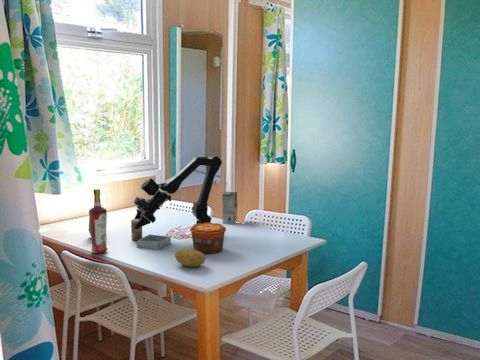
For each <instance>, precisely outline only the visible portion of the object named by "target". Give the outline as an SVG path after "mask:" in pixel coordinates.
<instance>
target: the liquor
mask: <svg viewBox="0 0 480 360" xmlns="http://www.w3.org/2000/svg"><path fill="white" fill-rule="evenodd" d="M93 196H94V199H93V207H91V208H90V209H89V210H88V214H89V218H90V228H91V235H90V237H91V252H92V253H94V255H103V254H105V253H106V252H107V251H108V247H107V225H108V224H107V223H108V222H107V218H108V217H107V216H108V215H107V214H108V213H107V208H105V207H103V206H102V203H101V189H100V188H95V189H94V188H93ZM89 218H88V219H89Z"/></svg>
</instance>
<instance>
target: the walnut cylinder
mask: <svg viewBox="0 0 480 360" xmlns="http://www.w3.org/2000/svg"><path fill="white" fill-rule="evenodd" d="M139 220H140V219H134V218H133V219H131V220H130V222H131V223H130V224H131V225H130V227H131V241H133V242H137V241H138V240H140V239H142V238H143V226H142V227H140V228H138V229H135V226H136V224H137V223H138V222H139Z"/></svg>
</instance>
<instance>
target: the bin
mask: <svg viewBox="0 0 480 360" xmlns="http://www.w3.org/2000/svg"><path fill="white" fill-rule="evenodd" d="M171 237H172V236H168V235H159V234H158V235H157V234H148V235H146V236H144V237H143V236H142V239H140V240H138V241H136V244H137V245H136V246H137V247H136V248H142V249H150V250H156V251H157V250H158V251H160V250H162V249H163V248H165V247H166V246H168V245H169V244H171V243H172V238H171Z"/></svg>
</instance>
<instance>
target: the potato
mask: <svg viewBox="0 0 480 360" xmlns="http://www.w3.org/2000/svg"><path fill="white" fill-rule="evenodd" d="M205 255H206V254H203V253H201V252H199V251H196V250H194V248H187V247H186V248H185V247H184V248H181V249H178V250H176V251H175V252H174V257H175V261H177V262H178V263H180V265H183V266H185V267H188V268H195V267H198V266H199V267H200V266H201V265H203V264H204V263H205V260H206V256H205Z"/></svg>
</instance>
